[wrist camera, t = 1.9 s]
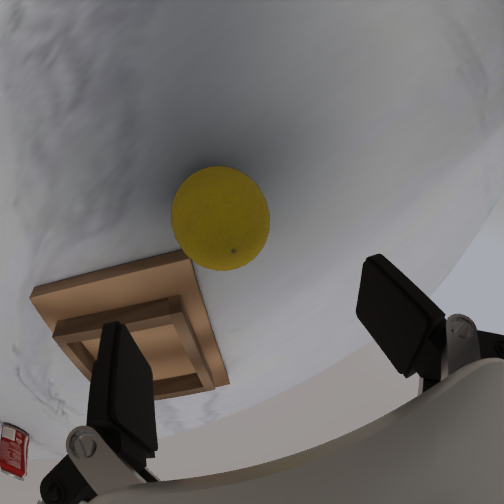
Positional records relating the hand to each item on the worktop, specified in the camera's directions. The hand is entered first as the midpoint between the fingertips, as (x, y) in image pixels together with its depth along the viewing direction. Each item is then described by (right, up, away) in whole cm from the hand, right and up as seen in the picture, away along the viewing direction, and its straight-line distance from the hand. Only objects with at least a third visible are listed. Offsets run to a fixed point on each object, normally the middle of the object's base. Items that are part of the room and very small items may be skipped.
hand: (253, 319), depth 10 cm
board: (-11, -6, +15) cm, 20 cm away
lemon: (-3, +7, +9) cm, 12 cm away
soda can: (-50, -35, +21) cm, 65 cm away
